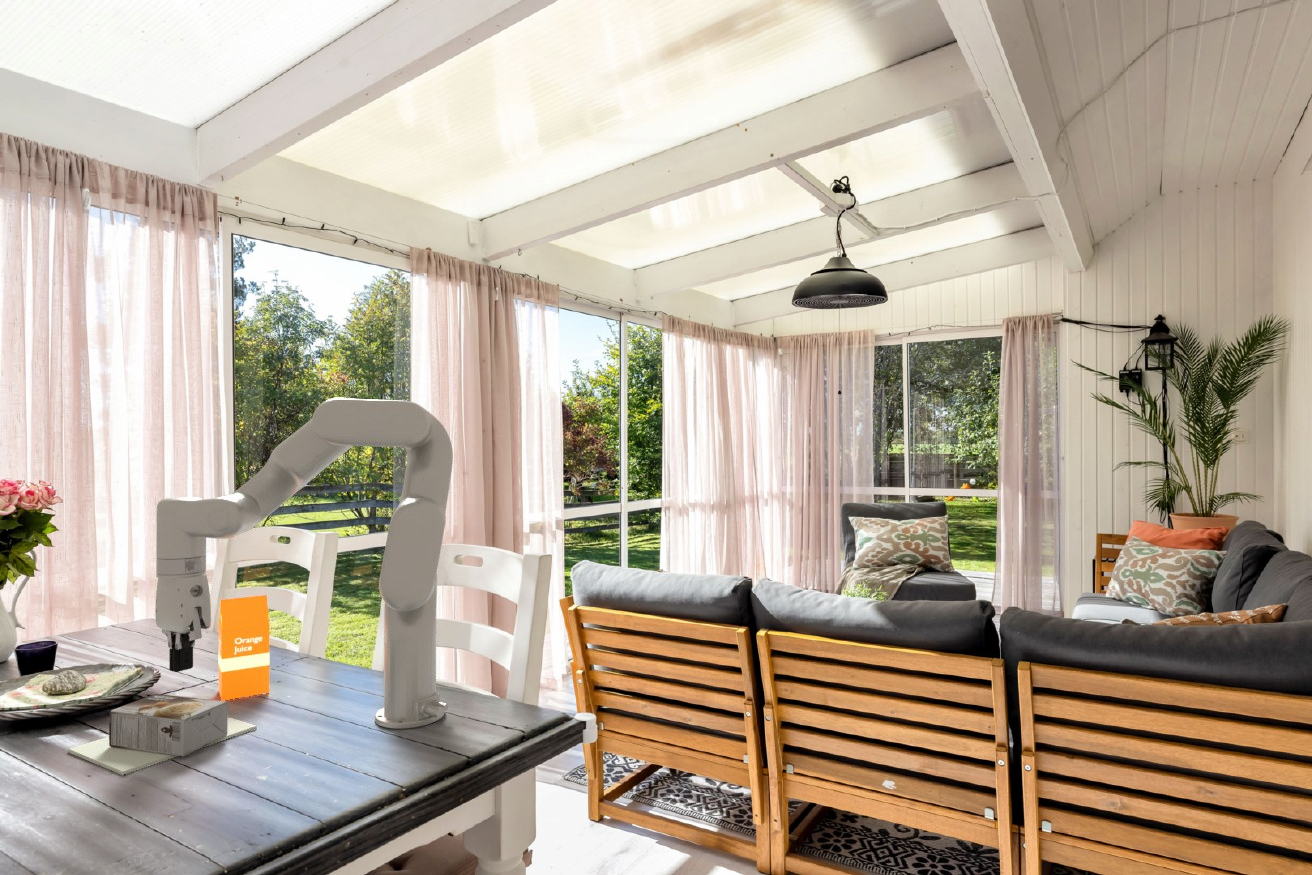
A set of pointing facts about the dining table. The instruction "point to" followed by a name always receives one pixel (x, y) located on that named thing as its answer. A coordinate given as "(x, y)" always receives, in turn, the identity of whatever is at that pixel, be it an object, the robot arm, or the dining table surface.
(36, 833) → the dining table surface
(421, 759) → the dining table surface
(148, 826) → the dining table surface
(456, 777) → the dining table surface
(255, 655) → the orange juice
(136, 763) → the mat
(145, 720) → the coffee box
